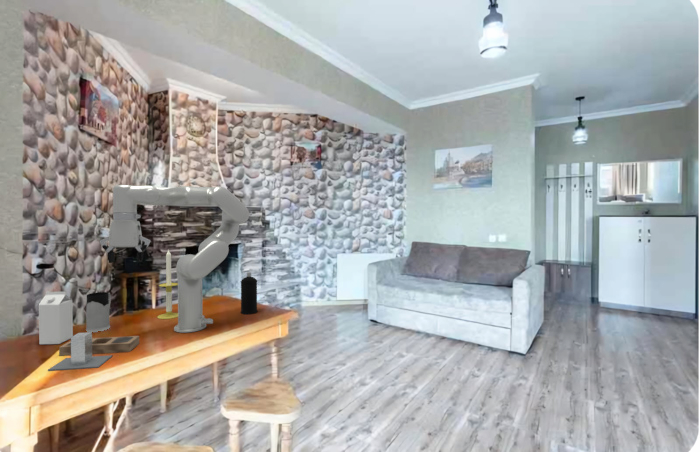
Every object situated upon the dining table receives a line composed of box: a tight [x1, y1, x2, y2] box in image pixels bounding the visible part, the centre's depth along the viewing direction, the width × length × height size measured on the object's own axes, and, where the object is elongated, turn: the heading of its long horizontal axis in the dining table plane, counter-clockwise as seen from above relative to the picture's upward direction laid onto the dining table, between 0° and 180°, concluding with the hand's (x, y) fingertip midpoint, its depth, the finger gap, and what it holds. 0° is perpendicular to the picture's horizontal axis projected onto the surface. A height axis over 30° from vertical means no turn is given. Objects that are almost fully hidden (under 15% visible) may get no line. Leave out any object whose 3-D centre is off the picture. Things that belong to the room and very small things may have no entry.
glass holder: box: [85, 291, 112, 333], centre depth 150 cm, size 9×14×15 cm, turn 9°
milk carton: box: [38, 291, 74, 345], centre depth 133 cm, size 7×7×19 cm
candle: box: [157, 248, 178, 320], centre depth 167 cm, size 10×10×32 cm
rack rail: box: [58, 335, 140, 357], centre depth 125 cm, size 22×8×3 cm, turn 100°
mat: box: [47, 354, 113, 372], centre depth 113 cm, size 14×9×1 cm, turn 100°
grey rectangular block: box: [70, 332, 93, 365], centre depth 113 cm, size 4×4×9 cm
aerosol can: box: [239, 271, 258, 315], centre depth 174 cm, size 8×8×20 cm
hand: (125, 262), depth 133 cm, fingers open, 9 cm apart
